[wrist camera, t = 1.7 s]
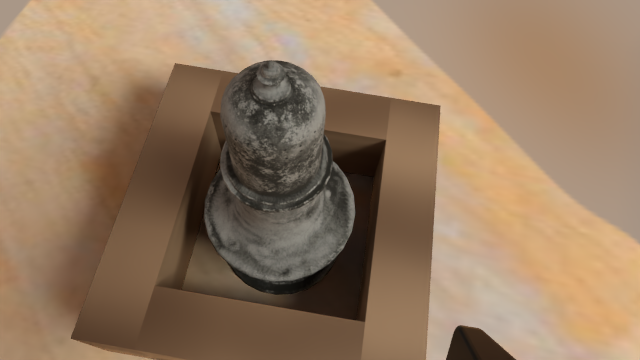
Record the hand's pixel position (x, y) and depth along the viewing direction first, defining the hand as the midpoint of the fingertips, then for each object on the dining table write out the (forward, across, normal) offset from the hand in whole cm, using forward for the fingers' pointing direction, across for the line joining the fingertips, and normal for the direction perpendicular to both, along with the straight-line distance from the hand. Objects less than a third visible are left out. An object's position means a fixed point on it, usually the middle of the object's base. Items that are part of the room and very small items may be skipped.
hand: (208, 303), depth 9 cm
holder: (+12, 0, +4) cm, 13 cm away
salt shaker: (+12, 0, +5) cm, 13 cm away
